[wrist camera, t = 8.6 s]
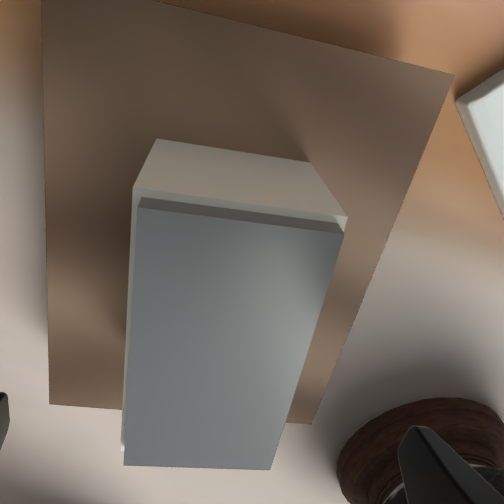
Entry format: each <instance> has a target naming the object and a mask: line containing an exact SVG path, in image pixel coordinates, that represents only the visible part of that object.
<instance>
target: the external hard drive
mask: <svg viewBox="0 0 504 504" xmlns="http://www.w3.org/2000/svg"><path fill="white" fill-rule="evenodd" d="M455 105H456V107H457V110H458V112H459V114H460V116H461V119H462V121H463V124H464V126H465V128H466V131H467V133H468V136H469V138H470V141H471V143H472V145H473V148H474V150H475V152H476V154H477V157H478V159H479V162H480V164H481V166H482V169H483V171H484V173H485V176H486V178H487V181H488V183H489V186H490V188H491V190H492V193H493V195H494V198H495V200H496V202H497V204H498V207H499V209H500V212H501V214H502V216H503V219H504V68H503V69H502V70H500V71H499V72H497V73H496V74H494V75H493V76H491V77H490V78H488V79H487V80H485V81H484V82H482V83H481V84H479V85H478V86H476V87H475V88H473V89H472V90H470V91H469V92H467V93H466V94H464V95H462V96H461V97H459V98H458V99H457V100H456V101H455Z"/></svg>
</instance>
